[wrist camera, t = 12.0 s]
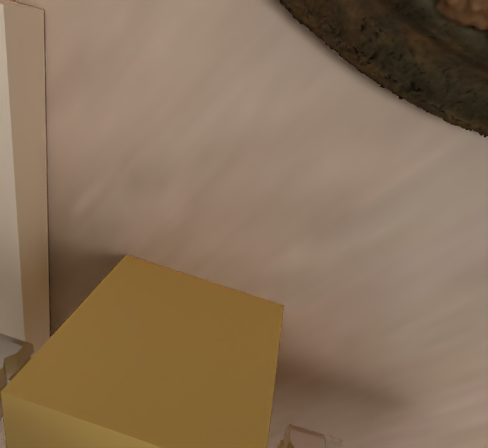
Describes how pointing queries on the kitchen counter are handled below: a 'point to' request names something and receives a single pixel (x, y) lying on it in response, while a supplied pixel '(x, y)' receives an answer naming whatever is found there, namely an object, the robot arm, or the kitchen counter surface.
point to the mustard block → (151, 368)
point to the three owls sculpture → (412, 49)
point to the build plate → (23, 176)
